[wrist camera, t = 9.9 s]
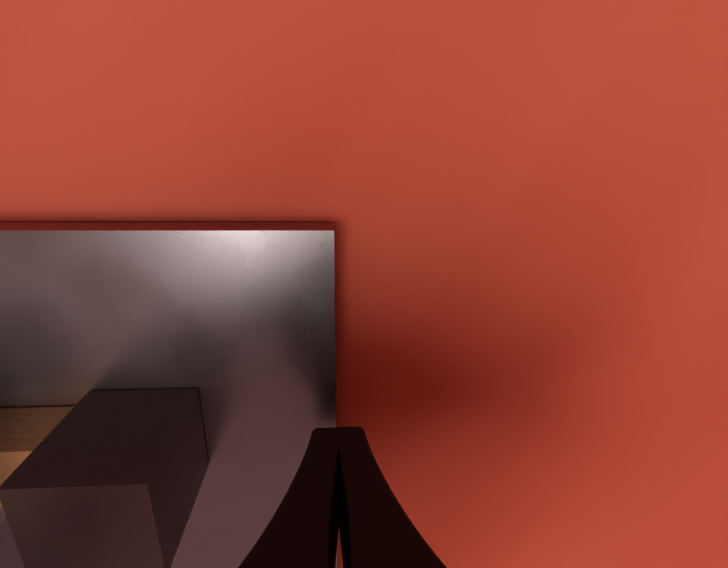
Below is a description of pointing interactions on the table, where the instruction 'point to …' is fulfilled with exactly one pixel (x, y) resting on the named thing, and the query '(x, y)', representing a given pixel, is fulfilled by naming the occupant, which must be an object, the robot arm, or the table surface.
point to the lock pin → (102, 478)
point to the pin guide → (2, 515)
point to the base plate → (182, 347)
